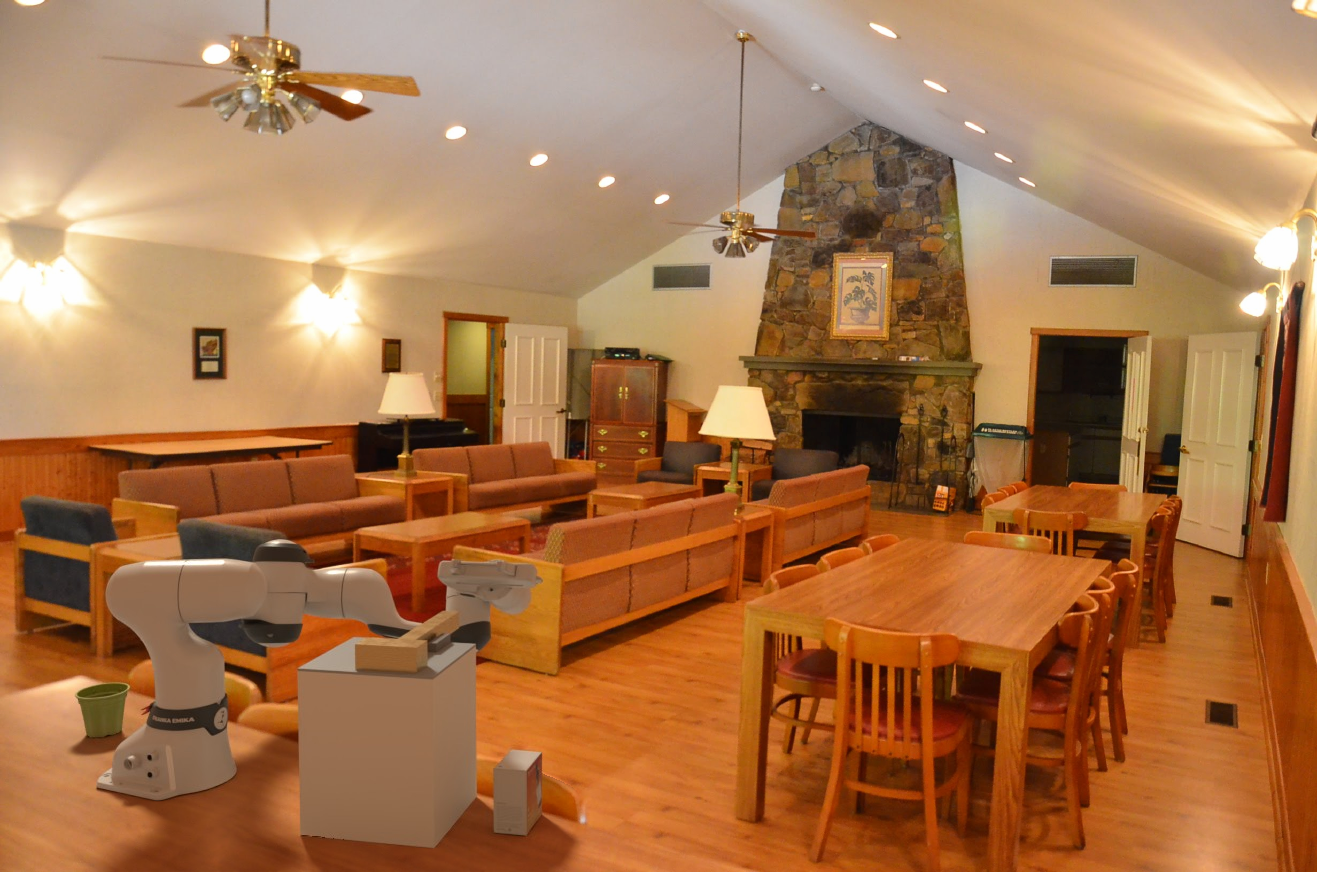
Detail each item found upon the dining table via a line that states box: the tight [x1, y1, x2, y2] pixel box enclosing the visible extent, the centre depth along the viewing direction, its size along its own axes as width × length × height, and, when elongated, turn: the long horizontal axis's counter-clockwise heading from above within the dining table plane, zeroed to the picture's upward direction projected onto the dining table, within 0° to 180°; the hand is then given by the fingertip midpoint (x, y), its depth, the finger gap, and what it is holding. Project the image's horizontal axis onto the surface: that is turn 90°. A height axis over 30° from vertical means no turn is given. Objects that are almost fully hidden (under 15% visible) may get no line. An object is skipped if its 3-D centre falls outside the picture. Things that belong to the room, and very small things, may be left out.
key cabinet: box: [296, 633, 478, 849], centre depth 154 cm, size 22×18×28 cm
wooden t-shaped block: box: [355, 610, 459, 674], centre depth 158 cm, size 10×26×4 cm, turn 170°
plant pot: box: [74, 682, 131, 738], centre depth 190 cm, size 9×9×9 cm
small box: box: [492, 749, 543, 836], centre depth 152 cm, size 8×6×10 cm
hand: (477, 563), depth 189 cm, fingers open, 8 cm apart
